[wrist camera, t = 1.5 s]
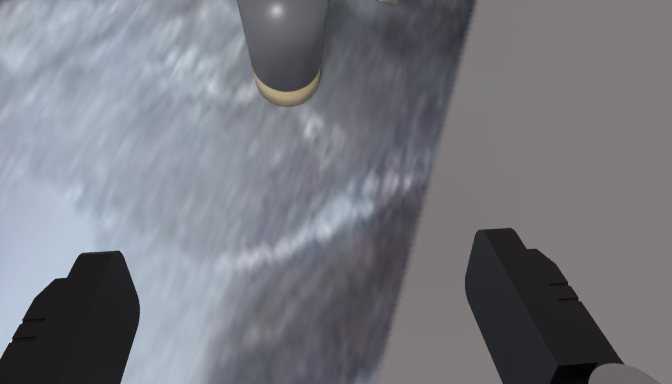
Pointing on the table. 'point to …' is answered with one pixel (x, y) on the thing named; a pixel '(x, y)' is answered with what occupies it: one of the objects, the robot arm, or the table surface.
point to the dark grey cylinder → (285, 46)
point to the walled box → (390, 2)
